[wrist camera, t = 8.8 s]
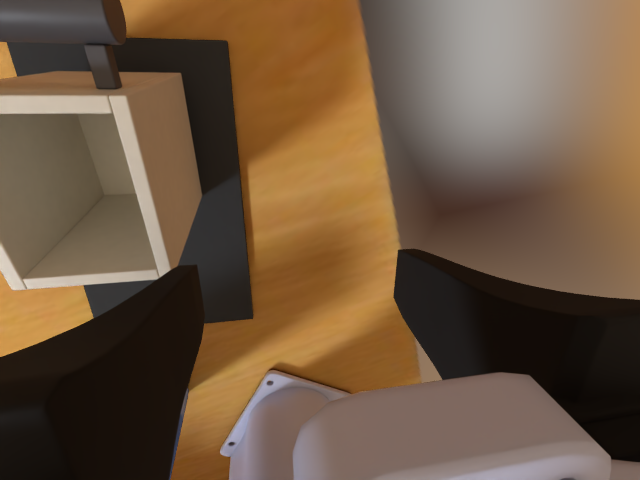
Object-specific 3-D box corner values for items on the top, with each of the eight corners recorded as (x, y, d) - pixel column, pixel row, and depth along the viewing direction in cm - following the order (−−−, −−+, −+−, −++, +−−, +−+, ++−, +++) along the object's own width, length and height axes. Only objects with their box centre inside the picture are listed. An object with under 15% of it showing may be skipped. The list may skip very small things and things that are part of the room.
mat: (253, 315, 23) (253, 319, 23) (101, 330, 22) (98, 334, 22) (227, 41, 17) (227, 40, 17) (9, 35, 15) (3, 34, 15)
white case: (173, 278, 13) (93, -33, 8) (11, 291, 12) (-191, -50, 7) (202, 195, 19) (168, 2, 15) (101, 200, 18) (29, -5, 14)
